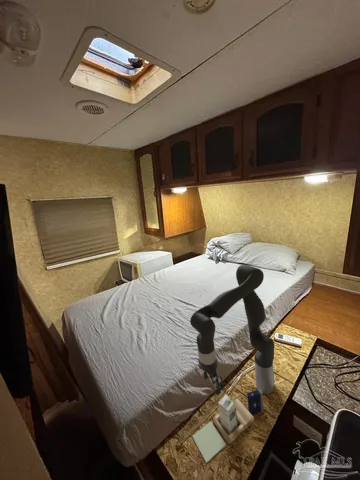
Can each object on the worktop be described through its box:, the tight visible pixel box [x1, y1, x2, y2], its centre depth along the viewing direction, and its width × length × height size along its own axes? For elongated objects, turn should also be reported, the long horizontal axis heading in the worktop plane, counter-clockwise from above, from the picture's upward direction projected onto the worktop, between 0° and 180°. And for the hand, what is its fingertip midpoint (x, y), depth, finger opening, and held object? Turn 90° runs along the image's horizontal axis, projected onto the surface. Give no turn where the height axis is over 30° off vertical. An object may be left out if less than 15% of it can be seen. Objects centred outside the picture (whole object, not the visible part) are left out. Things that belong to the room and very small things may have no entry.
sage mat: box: [192, 421, 227, 464], centre depth 89 cm, size 11×11×1 cm
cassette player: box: [247, 389, 265, 416], centre depth 97 cm, size 7×2×12 cm, turn 103°
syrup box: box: [217, 393, 239, 435], centre depth 93 cm, size 6×6×14 cm
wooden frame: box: [212, 398, 255, 445], centre depth 95 cm, size 16×11×2 cm, turn 119°
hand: (212, 385), depth 86 cm, fingers open, 8 cm apart
